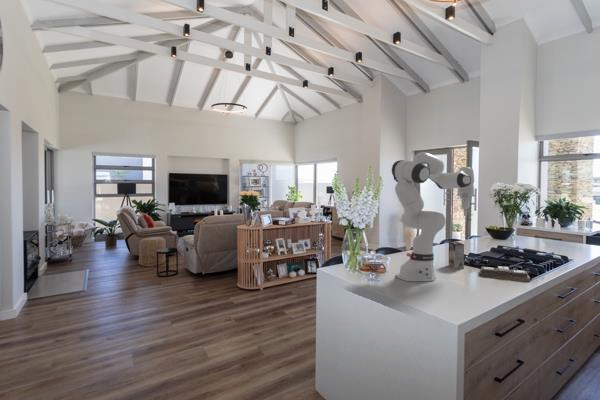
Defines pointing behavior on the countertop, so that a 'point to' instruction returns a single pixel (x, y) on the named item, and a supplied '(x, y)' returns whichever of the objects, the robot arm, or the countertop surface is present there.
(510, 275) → the button board
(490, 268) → the button three
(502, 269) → the button one
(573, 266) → the countertop surface
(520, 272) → the button two
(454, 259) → the coffee box
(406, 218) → the robot arm
